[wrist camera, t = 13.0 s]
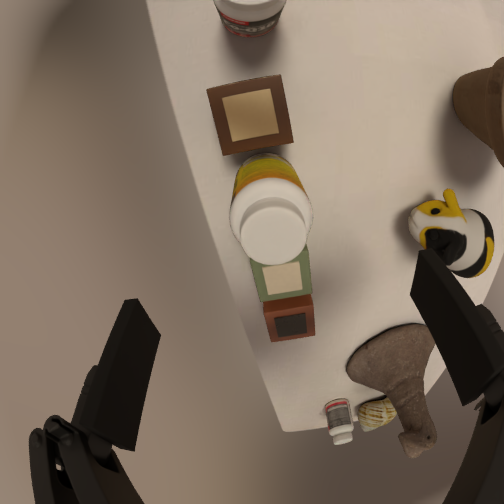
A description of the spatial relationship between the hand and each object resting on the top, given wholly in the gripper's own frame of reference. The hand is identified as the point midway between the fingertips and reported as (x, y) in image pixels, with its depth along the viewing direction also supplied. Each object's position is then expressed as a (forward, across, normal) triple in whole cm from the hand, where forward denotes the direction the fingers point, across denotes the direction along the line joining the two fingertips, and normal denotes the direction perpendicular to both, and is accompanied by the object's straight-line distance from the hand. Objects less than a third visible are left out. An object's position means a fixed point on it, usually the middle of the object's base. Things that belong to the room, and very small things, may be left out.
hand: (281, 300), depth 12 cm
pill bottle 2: (+15, +7, -50) cm, 53 cm away
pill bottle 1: (+16, +2, +16) cm, 22 cm away
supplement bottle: (+15, 0, 0) cm, 15 cm away
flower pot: (+15, +24, +7) cm, 29 cm away
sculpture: (+15, +17, -33) cm, 40 cm away
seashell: (+15, +18, -55) cm, 60 cm away
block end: (+15, 0, -14) cm, 20 cm away
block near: (+15, 0, +7) cm, 17 cm away
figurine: (+15, +20, -8) cm, 26 cm away
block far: (+15, 0, -7) cm, 17 cm away
